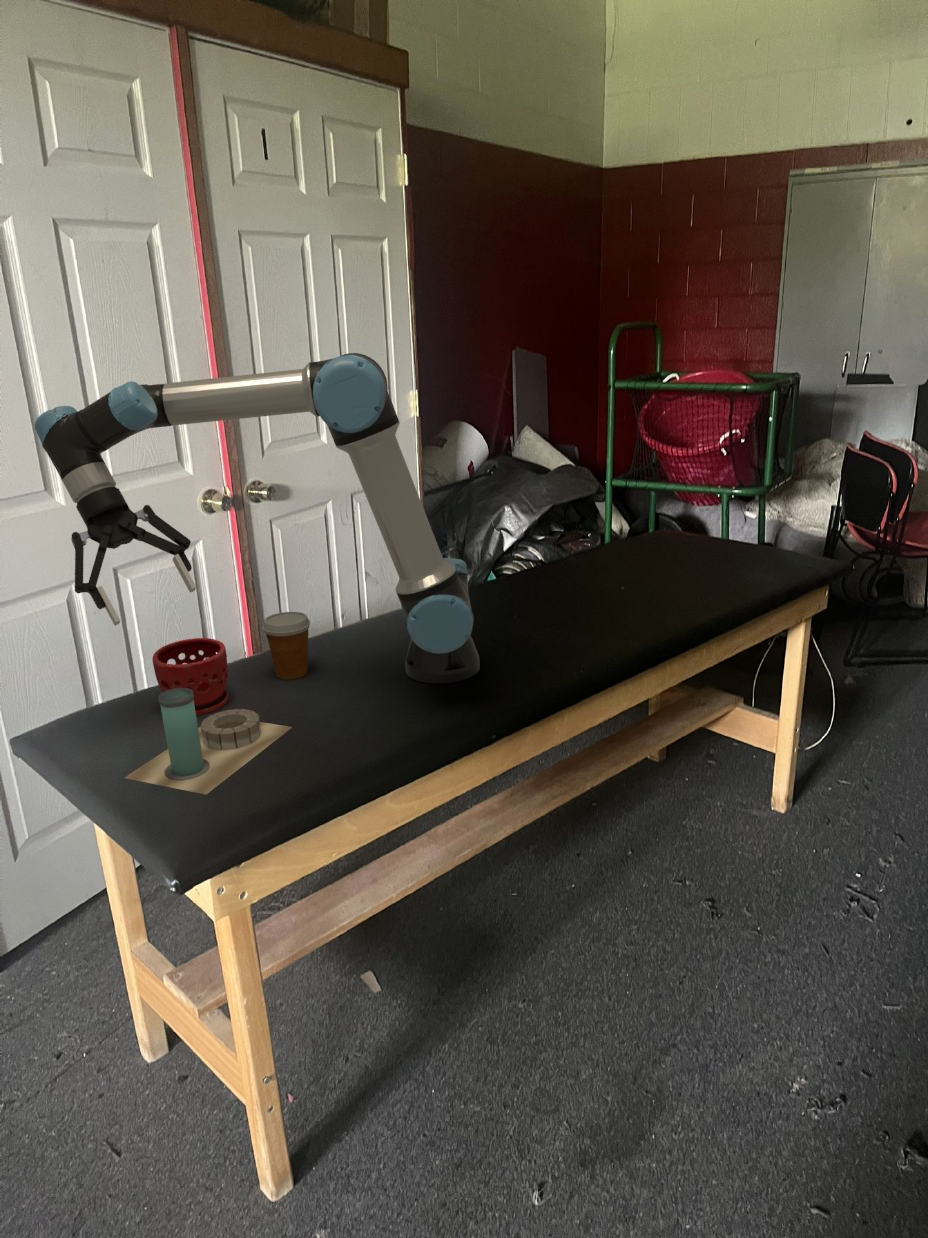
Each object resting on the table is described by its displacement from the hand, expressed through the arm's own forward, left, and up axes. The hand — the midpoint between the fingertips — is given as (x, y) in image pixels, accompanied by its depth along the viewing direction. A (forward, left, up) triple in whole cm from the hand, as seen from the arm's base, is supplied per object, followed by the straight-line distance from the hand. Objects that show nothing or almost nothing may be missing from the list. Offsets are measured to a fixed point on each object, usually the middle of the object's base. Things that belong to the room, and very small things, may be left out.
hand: (156, 606), depth 149 cm
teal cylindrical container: (-12, +12, -23) cm, 28 cm away
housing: (-12, +5, -24) cm, 27 cm away
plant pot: (+3, -10, -24) cm, 26 cm away
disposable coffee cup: (-5, -30, -24) cm, 39 cm away
